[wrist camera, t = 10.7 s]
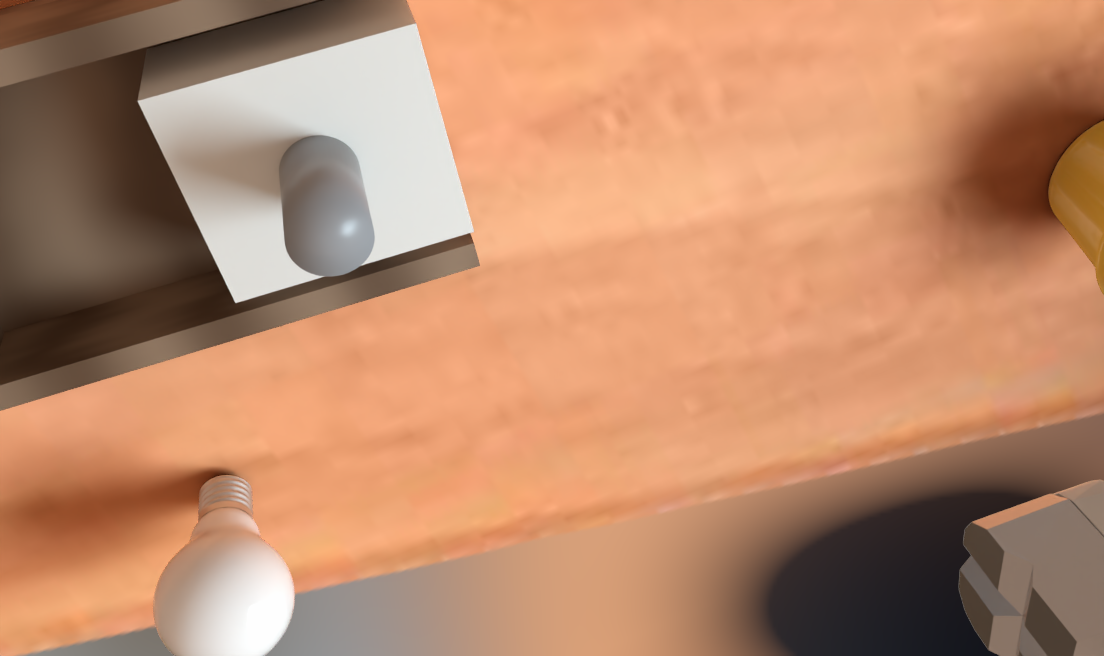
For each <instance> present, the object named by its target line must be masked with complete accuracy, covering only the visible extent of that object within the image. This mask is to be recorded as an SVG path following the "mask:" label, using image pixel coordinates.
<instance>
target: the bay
mask: <svg viewBox="0 0 1104 656" xmlns="http://www.w3.org/2000/svg"><path fill="white" fill-rule="evenodd" d="M319 1H323V0H34V1H30V2H26V3H23V4H19V5H15V6H11V7H8V8H4V9H0V411H1V410H4V409H8V408H11V407H14V406H18V405H21V404H24V403H28V402H31V401H34V400H38V399H41V398H44V397H47V396H51V395H54V394H57V393H61V392H64V391H67V390H71V389H74V388H77V387H81V386H84V385H87V384H90V383H94V382H97V381H100V380H104V379H107V378H110V377H114V376H117V375H120V374H123V373H127V372H130V371H133V370H137V369H140V368H143V367H147V366H150V365H153V364H157V363H160V362H163V361H166V360H170V359H173V358H176V357H180V356H183V355H186V354H190V353H193V352H196V351H200V350H203V349H206V348H209V347H213V346H216V345H219V344H223V343H226V342H229V341H233V340H236V339H239V338H243V337H246V336H249V335H252V334H256V333H259V332H262V331H266V330H269V329H272V328H276V327H279V326H282V325H285V324H289V323H292V322H295V321H299V320H302V319H305V318H309V317H312V316H315V315H319V314H322V313H325V312H328V311H332V310H335V309H338V308H342V307H345V306H348V305H352V304H355V303H358V302H362V301H365V300H368V299H371V298H375V297H378V296H381V295H385V294H388V293H391V292H395V291H398V290H401V289H405V288H408V287H411V286H414V285H418V284H421V283H424V282H428V281H431V280H434V279H438V278H441V277H444V276H447V275H451V274H454V273H457V272H461V271H464V270H467V269H471V268H474V267H477V266H480V264H479V260H478V257H477V253H476V250H475V246H474V243H473V240H472V237H471V235H470V233H468V234H465V235H462V236H458V237H455V238H451V239H448V240H445V241H441V242H438V243H435V244H431V245H428V246H425V247H421V248H418V249H415V250H411V251H408V252H405V253H401V254H398V255H395V256H391V257H388V258H385V259H381V260H378V261H375V262H371V263H368V264H365V265H361V266H359V267H358V268H356V269H355V270H353V271H351V272H349V273H346V274H343V275H339V276H330V277H326V276H325V277H321V278H318V279H315V280H311V281H308V282H304V283H301V284H298V285H294V286H291V287H288V288H284V289H281V290H278V291H274V292H271V293H268V294H264V295H261V296H258V297H254V298H251V299H248V300H244V301H241V302H238V303H235V301H234V299H233V297H232V295H231V293H230V291H229V289H228V287H227V285H226V282H225V280H224V278H223V276H222V274H221V272H220V270H219V268H218V266H217V264H216V262H215V260H214V258H213V256H212V254H211V252H210V250H209V247H208V245H207V243H206V241H205V239H204V237H203V235H202V233H201V231H200V229H199V227H198V225H197V223H196V221H195V219H194V217H193V215H192V212H191V210H190V208H189V206H188V204H187V202H186V200H185V198H184V196H183V194H182V192H181V190H180V188H179V186H178V184H177V182H176V179H175V177H174V175H173V173H172V171H171V169H170V167H169V165H168V163H167V161H166V159H165V157H164V155H163V153H162V151H161V149H160V147H159V144H158V142H157V140H156V138H155V136H154V134H153V132H152V130H151V128H150V126H149V124H148V122H147V120H146V118H145V116H144V114H143V111H142V109H141V107H140V105H139V103H138V95H139V90H140V84H141V79H142V73H143V68H144V62H145V57H146V51H147V49H148V48H152V47H156V46H159V45H163V44H167V43H170V42H174V41H177V40H181V39H185V38H188V37H192V36H196V35H199V34H203V33H206V32H210V31H214V30H217V29H221V28H225V27H228V26H232V25H236V24H239V23H243V22H246V21H250V20H254V19H257V18H261V17H265V16H268V15H272V14H276V13H279V12H283V11H286V10H290V9H294V8H297V7H301V6H305V5H308V4H312V3H315V2H319Z"/></svg>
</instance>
